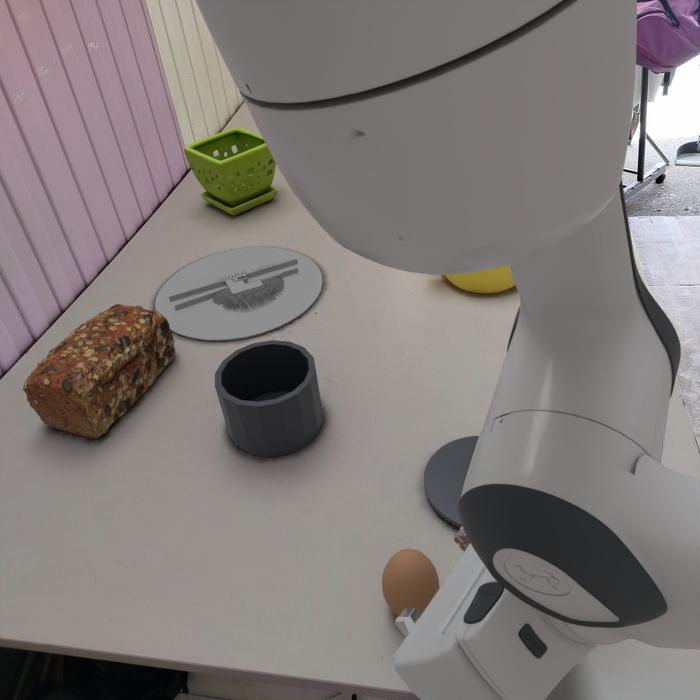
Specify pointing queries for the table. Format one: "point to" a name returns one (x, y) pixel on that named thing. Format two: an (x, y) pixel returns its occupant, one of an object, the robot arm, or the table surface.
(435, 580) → the egg
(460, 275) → the teapot
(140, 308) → the bread
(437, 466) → the lid
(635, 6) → the robot arm
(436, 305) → the table surface
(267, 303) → the plate
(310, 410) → the pot
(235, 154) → the flower pot
